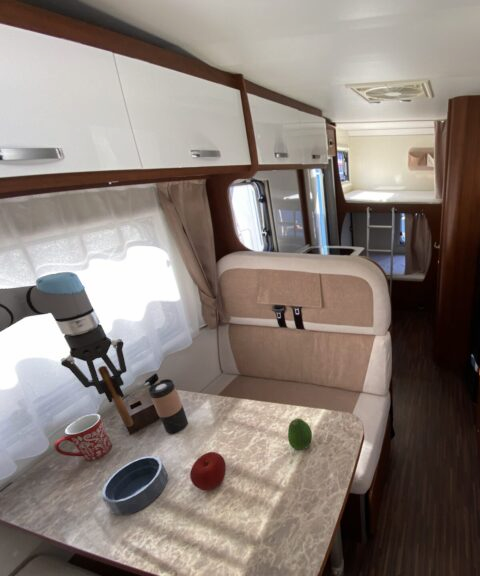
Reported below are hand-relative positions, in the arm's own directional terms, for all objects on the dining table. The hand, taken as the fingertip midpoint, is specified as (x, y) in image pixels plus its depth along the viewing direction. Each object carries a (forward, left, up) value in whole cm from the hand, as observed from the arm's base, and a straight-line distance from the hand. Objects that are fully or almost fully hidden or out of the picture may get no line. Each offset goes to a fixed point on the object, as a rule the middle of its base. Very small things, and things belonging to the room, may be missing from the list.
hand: (116, 397), depth 90 cm
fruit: (+38, -34, -30) cm, 59 cm away
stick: (0, 0, -11) cm, 11 cm away
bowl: (-4, -8, -30) cm, 31 cm away
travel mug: (+12, +12, -30) cm, 35 cm away
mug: (-12, +22, -30) cm, 40 cm away
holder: (+4, +27, -30) cm, 41 cm away
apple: (+12, -23, -30) cm, 40 cm away
